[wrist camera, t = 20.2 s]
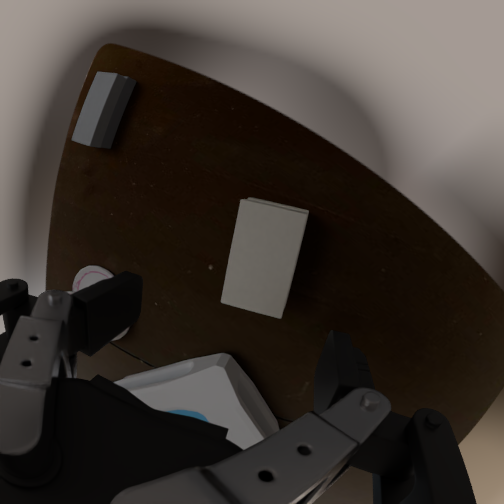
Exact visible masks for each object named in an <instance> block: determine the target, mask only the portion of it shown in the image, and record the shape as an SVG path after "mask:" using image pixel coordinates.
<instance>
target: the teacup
mask: <svg viewBox="0 0 504 504" xmlns="http://www.w3.org/2000/svg"><path fill="white" fill-rule="evenodd" d="M113 276H114V275H113V274H111V273H110V272H109V271H108V270H106V269H104V268H102V267H100V266H87V267H85V268H83V269H81V270H80V271H79V272H78V274H77V275H76V277H75V280H74V283H73V291H68V292H67V293H69V294H72V293H75V292H77V291H79V290H81V289H83V288H85V287H89V286H90V285H92V284H95V283H96V282H98V281H101V280H103V279H108V278H111V277H113ZM128 330H129V327H128V328H127V329H126V330H125V331H123V332H122V333H121V334H119V335H118V336H117V337H115V338H114V339H113V340H118V339H120V338H121V337H123V336H124V335H125V334H126V333H127V332H128ZM113 340H112V341H113Z"/></svg>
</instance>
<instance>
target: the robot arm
mask: <svg viewBox="0 0 504 504" xmlns="http://www.w3.org/2000/svg"><path fill="white" fill-rule="evenodd" d="M142 288H143V279H142V277H141V276H139V275H137V274H134V273H131V272H128V271H124V272H122V273H120V274H118V275H116V276H113V277H111V278H108V279H103V280H101V281H98V282H96V283H95V284H92V285H90V286H89V287H85V288H83V289H81V290H79V291H77V292H75V293H72V294H69V293H67V292H65V291H61V290H49V291H45V292H43V293H41V294H40V295H39V297H35V296H32V295H29V294H28V284H27V283H26V282H25V281H23V280H21V279H8V280H4V281H2V282H0V315H2V314H3V320H4V325H5V330H6V332H4V333H2V334H1V335H0V504H311V503H313V502H314V501H315V500H316V499H317V498H318V497H319V496H320V495H321V494H322V493H323V492H325V491H326V490H327V489H328V488H329V487H330V486H331V485H332V484H333V483H334V482H335V481H336V480H338V479H339V478H340V477H341V476H342V475H343V474H344V473H345V472H346V471H347V470H348V469H349V468H350V467H351V466H353V467H356V468H359V469H361V470H364V471H367V472H370V473H373V504H476V500H475V496H474V493H473V490H472V486H471V483H470V479H469V476H468V473H467V470H466V467H465V464H464V461H463V458H462V455H461V452H460V450H459V447H458V444H457V441H456V439H455V436H454V434H453V431H452V428H451V426H450V423H449V421H448V420H447V418H446V417H445V416H444V415H442V414H441V413H439V412H438V411H435V410H433V409H428V408H423V409H419V410H417V411H416V412H415V414H414V415H413V417H412V418H409V417H406V416H403V415H400V414H397V413H394V412H392V411H390V410H391V404H390V402H389V400H388V399H387V398H386V397H385V396H384V395H383V394H382V393H380V392H378V391H376V390H375V388H374V384H373V380H372V377H371V373H370V372H369V371H370V370H369V366H368V363H367V359H366V356H365V355H364V354H363V353H362V352H361V351H360V349H359V348H354V347H352V342H351V338H350V335H349V334H346V333H342V332H337V331H333V330H331V331H330V333H329V335H328V337H327V340H326V343H325V345H324V348H323V351H322V353H321V356H320V359H319V361H318V364H317V367H316V371H315V377H314V411H310V412H308V413H307V414H305V415H303V416H302V417H300V418H299V419H297V420H296V421H294V422H292V423H291V424H289V425H287V426H286V427H284V428H282V429H281V430H279V431H277V432H276V433H274V434H272V435H270V436H269V437H267V438H265V439H263V440H261V441H260V442H258V443H256V444H254V445H252V446H250V447H248V448H246V449H245V450H243V449H242V448H240V447H239V446H238V445H236V444H234V443H233V442H231V441H229V440H227V439H226V437H227V433H228V430H229V429H228V428H225V427H222V426H219V425H215V424H212V423H209V422H206V421H203V420H200V419H198V418H195V417H191V416H186V415H180V414H175V413H170V412H165V411H160V410H156V409H153V408H151V407H150V406H148V405H147V404H145V403H144V402H143V401H141V400H140V399H139V398H137V397H136V396H135V395H133V394H132V393H131V392H129V391H128V390H127V389H125V388H123V387H121V386H119V385H117V384H115V383H113V382H111V381H110V380H108V379H106V378H104V377H102V376H100V375H96V376H95V377H94V378H93V379H92V380H91V381H88V380H84V379H78V378H76V373H77V352H78V351H81V352H83V353H84V354H86V355H88V356H90V357H91V356H92V355H93V354H95V353H96V352H97V351H99V350H100V349H101V348H102V347H104V346H105V345H106V344H108V343H109V342H110V341H112V340H113V339H114V338H115V337H117V336H118V335H119V334H121V333H122V332H123V331H125V330H126V329H127V328H128V327H130V326H131V325H132V324H134V323H135V322H136V321H137V320H138V318H139V316H140V312H141V302H142Z"/></svg>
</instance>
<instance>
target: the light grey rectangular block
mask: <svg viewBox="0 0 504 504" xmlns="http://www.w3.org/2000/svg"><path fill="white" fill-rule="evenodd" d="M306 219H307V213H306V212H302V211H297V210H293V209H289V208H285V207H280V206H276V205H272V204H267V203H263V202H258V201H254V200H249V199H241V201H240V206H239V211H238V216H237V221H236V226H235V231H234V236H233V241H232V246H231V251H230V256H229V261H228V267H227V272H226V277H225V282H224V288H223V293H222V298H221V303H225V304H228V305H232V306H235V307H239V308H242V309H246V310H250V311H253V312H257V313H261V314H265V315H269V316H272V317H276V318H280V319H281V317H282V314H283V310H284V306H285V303H286V299H287V295H288V291H289V288H290V284H291V280H292V276H293V272H294V268H295V264H296V260H297V256H298V252H299V248H300V244H301V240H302V236H303V232H304V228H305V223H306Z"/></svg>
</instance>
